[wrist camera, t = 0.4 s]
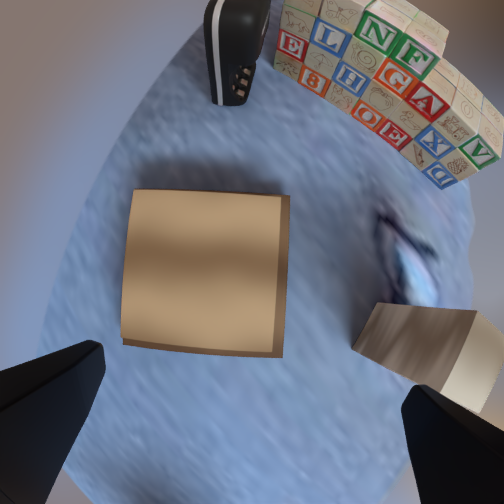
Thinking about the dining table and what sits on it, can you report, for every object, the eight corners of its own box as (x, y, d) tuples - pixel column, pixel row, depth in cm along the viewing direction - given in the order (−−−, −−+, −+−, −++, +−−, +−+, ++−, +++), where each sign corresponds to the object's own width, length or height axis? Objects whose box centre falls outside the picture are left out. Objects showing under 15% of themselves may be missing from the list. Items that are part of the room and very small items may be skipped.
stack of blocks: (454, 153, 25) (525, 106, 13) (440, 192, 24) (525, 148, 12) (300, 42, 26) (323, -42, 13) (270, 69, 25) (286, -28, 13)
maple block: (268, 344, 20) (272, 352, 18) (133, 332, 20) (120, 337, 17) (276, 207, 21) (281, 197, 19) (144, 199, 21) (133, 189, 18)
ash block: (388, 369, 22) (478, 413, 10) (351, 349, 22) (439, 394, 10) (411, 325, 23) (511, 342, 11) (377, 302, 23) (477, 310, 11)
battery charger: (251, 114, 24) (261, 18, 13) (210, 107, 24) (199, 12, 13) (264, 63, 25) (277, -25, 14) (228, 58, 25) (227, -30, 13)
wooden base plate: (277, 350, 23) (282, 357, 20) (133, 338, 22) (122, 344, 20) (284, 204, 24) (290, 195, 21) (144, 197, 23) (134, 188, 21)
